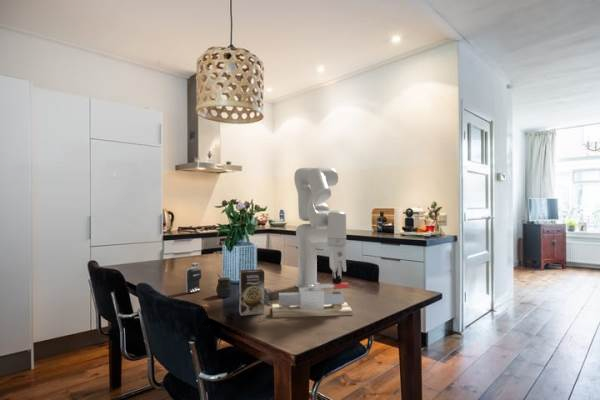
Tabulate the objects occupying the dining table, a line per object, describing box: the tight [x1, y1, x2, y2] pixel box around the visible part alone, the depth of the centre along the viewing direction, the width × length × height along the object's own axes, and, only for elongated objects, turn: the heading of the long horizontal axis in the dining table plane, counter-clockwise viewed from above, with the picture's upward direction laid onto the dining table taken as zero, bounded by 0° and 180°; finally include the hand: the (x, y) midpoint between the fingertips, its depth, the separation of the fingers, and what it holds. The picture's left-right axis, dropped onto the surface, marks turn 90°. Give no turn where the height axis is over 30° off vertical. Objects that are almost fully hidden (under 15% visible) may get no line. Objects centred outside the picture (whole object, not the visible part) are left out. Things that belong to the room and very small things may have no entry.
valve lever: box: [308, 282, 350, 290], centre depth 136 cm, size 16×3×2 cm, turn 93°
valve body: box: [278, 287, 345, 311], centre depth 136 cm, size 7×25×7 cm, turn 95°
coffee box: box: [238, 268, 265, 316], centre depth 135 cm, size 9×6×16 cm
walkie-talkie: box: [264, 287, 276, 305], centre depth 154 cm, size 9×4×20 cm
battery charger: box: [185, 267, 202, 294], centre depth 166 cm, size 7×4×11 cm, turn 145°
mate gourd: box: [215, 273, 233, 298], centre depth 160 cm, size 7×8×10 cm
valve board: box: [271, 301, 354, 319], centre depth 136 cm, size 12×30×3 cm, turn 95°
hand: (336, 288), depth 140 cm, fingers closed
